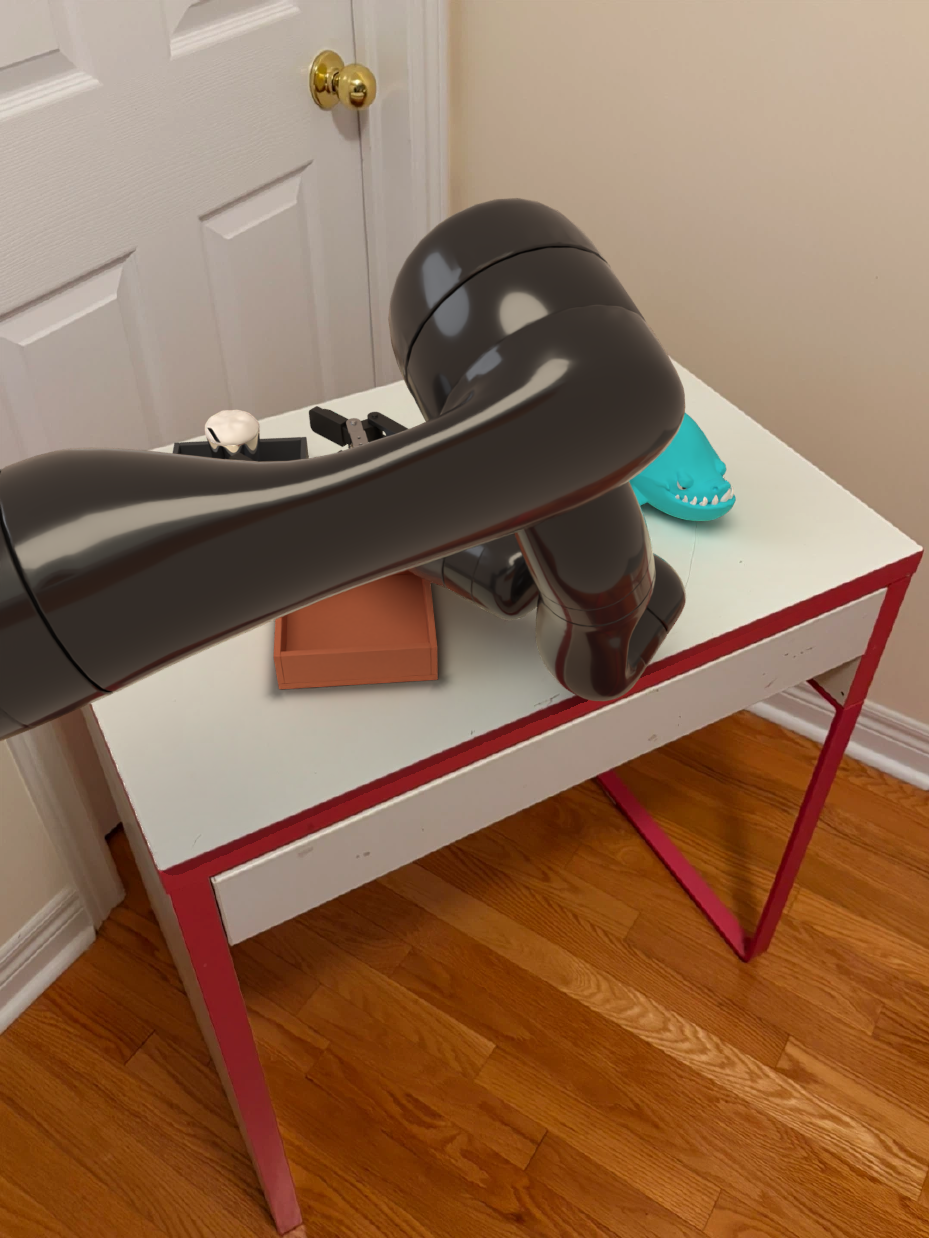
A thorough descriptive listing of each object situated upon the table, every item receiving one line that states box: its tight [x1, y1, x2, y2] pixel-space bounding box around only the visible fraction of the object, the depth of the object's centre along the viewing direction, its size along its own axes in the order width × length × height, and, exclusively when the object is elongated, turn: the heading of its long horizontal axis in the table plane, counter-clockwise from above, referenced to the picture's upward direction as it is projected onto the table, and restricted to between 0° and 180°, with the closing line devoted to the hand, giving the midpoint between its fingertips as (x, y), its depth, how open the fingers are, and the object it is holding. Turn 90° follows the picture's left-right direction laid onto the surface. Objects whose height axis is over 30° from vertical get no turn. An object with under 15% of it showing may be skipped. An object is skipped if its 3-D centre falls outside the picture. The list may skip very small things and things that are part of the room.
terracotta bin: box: [273, 570, 439, 690], centre depth 82 cm, size 12×12×4 cm
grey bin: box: [172, 436, 310, 462], centre depth 93 cm, size 12×12×4 cm
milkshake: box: [204, 409, 261, 462], centre depth 90 cm, size 4×5×10 cm
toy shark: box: [629, 412, 737, 522], centre depth 93 cm, size 10×18×11 cm, turn 30°
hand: (274, 440), depth 85 cm, fingers open, 8 cm apart
